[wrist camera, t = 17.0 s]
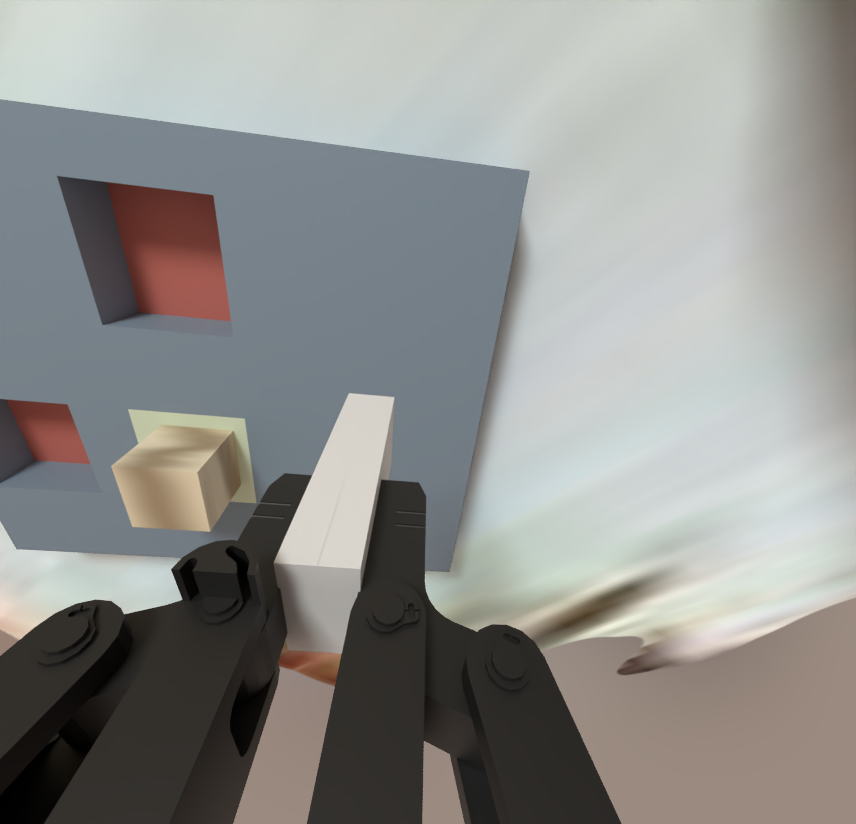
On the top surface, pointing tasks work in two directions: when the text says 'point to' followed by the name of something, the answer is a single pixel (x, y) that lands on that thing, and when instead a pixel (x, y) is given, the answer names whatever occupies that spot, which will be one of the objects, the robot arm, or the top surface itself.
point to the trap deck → (233, 313)
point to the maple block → (179, 478)
